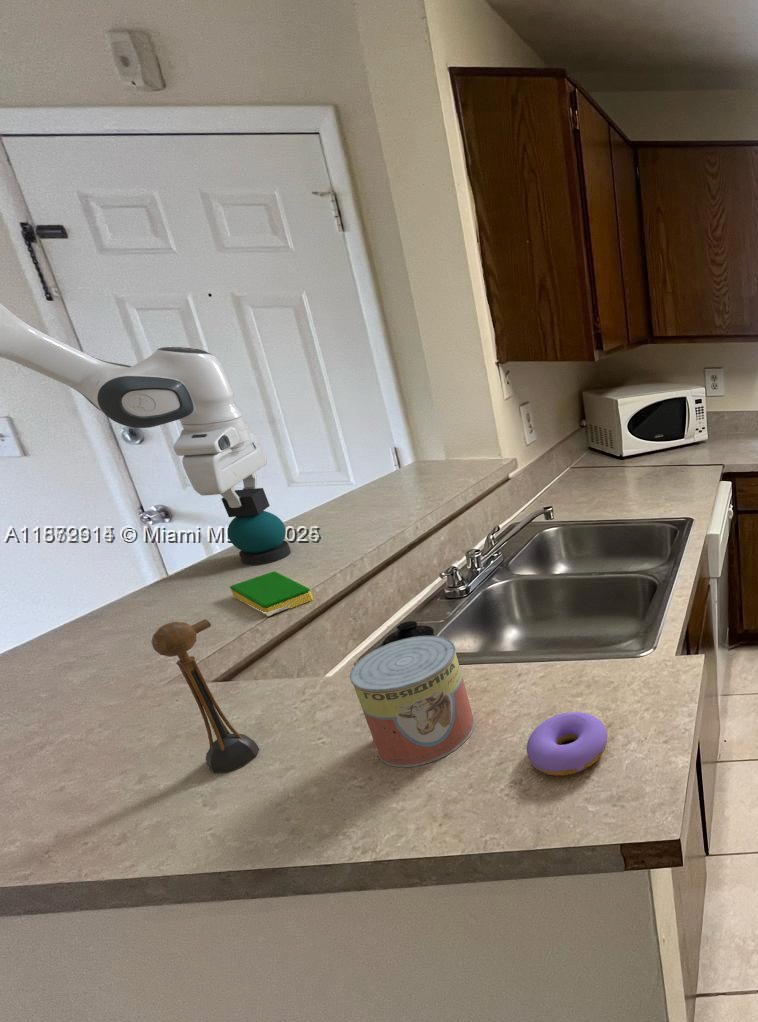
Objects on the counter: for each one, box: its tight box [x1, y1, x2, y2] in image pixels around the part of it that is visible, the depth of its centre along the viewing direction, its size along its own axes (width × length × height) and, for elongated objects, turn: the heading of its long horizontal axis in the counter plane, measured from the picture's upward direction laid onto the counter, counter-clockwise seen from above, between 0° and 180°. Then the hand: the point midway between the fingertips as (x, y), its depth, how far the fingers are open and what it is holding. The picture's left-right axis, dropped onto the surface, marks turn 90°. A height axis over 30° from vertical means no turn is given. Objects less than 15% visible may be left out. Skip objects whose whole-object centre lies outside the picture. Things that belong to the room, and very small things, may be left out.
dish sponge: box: [229, 571, 314, 612], centre depth 112 cm, size 7×14×2 cm, turn 60°
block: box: [221, 487, 270, 518], centre depth 123 cm, size 5×5×4 cm
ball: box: [227, 510, 292, 566], centre depth 126 cm, size 9×9×10 cm
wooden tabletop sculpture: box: [150, 619, 260, 774], centre depth 73 cm, size 6×5×20 cm
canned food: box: [349, 635, 476, 768], centre depth 78 cm, size 11×11×12 cm
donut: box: [526, 711, 608, 776], centre depth 77 cm, size 10×9×5 cm
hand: (245, 501), depth 123 cm, fingers closed on block, 5 cm apart
